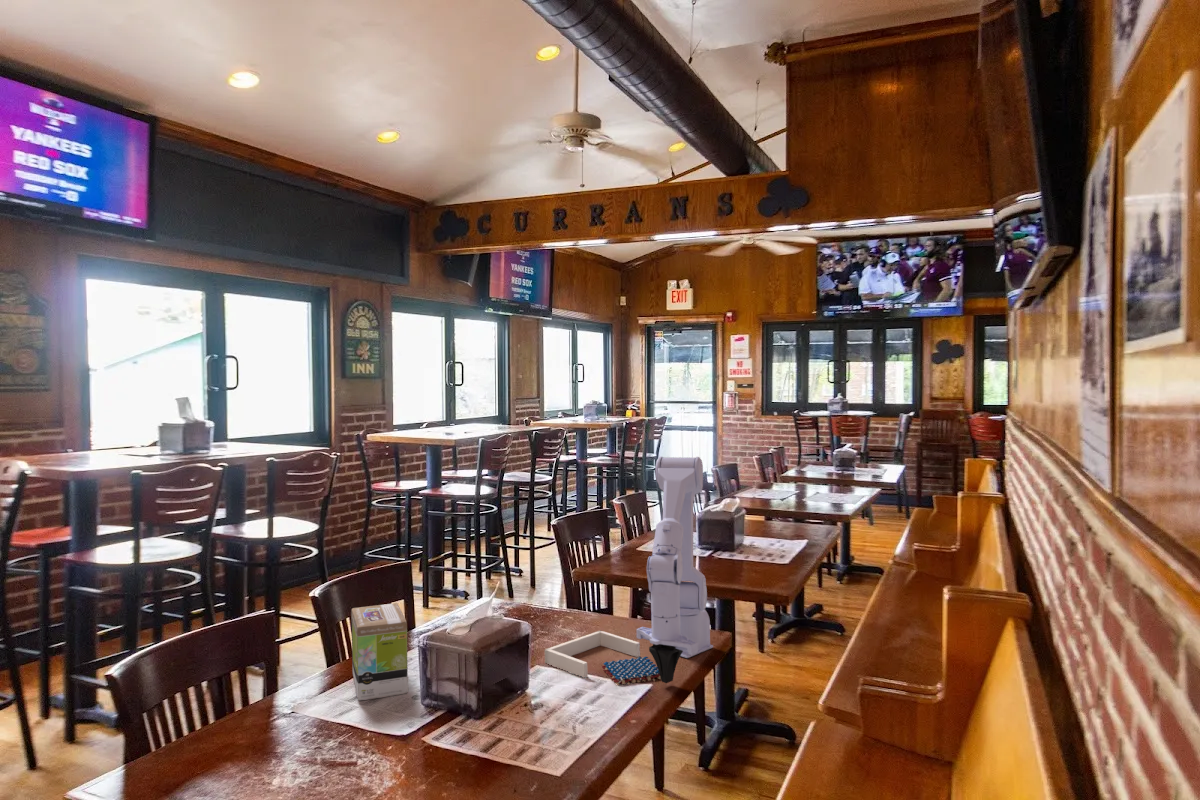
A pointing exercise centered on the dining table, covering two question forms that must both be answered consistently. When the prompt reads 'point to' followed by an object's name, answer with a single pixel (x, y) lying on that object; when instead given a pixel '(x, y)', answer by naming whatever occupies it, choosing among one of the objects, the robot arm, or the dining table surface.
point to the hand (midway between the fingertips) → (667, 681)
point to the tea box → (379, 651)
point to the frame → (563, 652)
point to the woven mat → (631, 670)
